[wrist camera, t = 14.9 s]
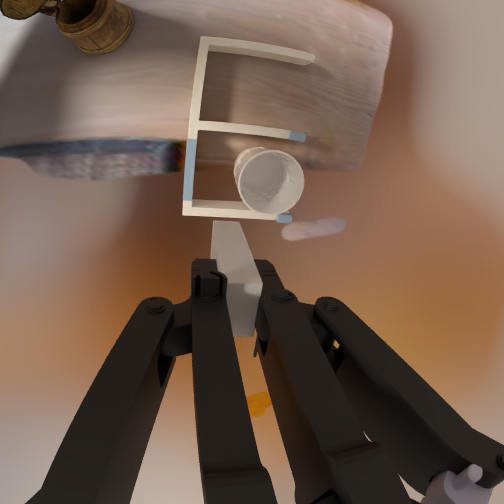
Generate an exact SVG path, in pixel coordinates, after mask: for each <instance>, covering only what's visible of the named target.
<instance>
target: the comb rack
mask: <svg viewBox="0 0 504 504" xmlns="http://www.w3.org/2000/svg"><path fill="white" fill-rule="evenodd" d="M208 51H211V52H222V53H232V54H240V55H248V56H255V57H261V58H267V59H273V60H278V61H283V62H288V63H293V64H298V65H302V66H305V65H308V64H310V63H313V62H314V59H315V54H312V53H308V52H304V51H299V50H295V49H290V48H286V47H281V46H276V45H270V44H265V43H259V42H252V41H245V40H238V39H229V38H219V37H207V36H201V39H200V45H199V51H198V57H197V64H196V71H195V78H194V86H193V94H192V102H191V111H190V120H189V130H188V139H187V148H186V161H185V175H184V191H183V215H190V216H215V217H234V218H250V219H267V220H276V221H277V222H278V223H291V222H292V217H293V215H292V214H291V213H290V212H289V211H286V212H284V213H282V214H279V215H273V216H266V215H261V214H258V213H256V212H254V211H252V210H251V209H249V208H248V207H247V206H246V205H245V203H244V202H238V201H237V202H236V201H221V200H203V199H192V193H193V179H194V167H195V155H196V144H197V134H198V130H210V131H223V132H234V133H244V134H253V135H262V136H270V137H277V138H284V139H290V140H295V141H301V142H305V140H306V133H302V132H297V131H291V130H285V129H278V128H271V127H264V126H256V125H247V124H238V123H227V122H215V121H201V120H199V115H200V106H201V98H202V90H203V82H204V75H205V68H206V61H207V55H208Z"/></svg>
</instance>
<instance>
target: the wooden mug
mask: <svg viewBox="0 0 504 504" xmlns="http://www.w3.org/2000/svg"><path fill="white" fill-rule="evenodd" d="M0 11H1V12H2V14H3V15H4V16H6V17H8V18H11V19H15V20H24V19H27V18H29V17H31V16H33V15H35V14H36V13H38V12H40V13H43V14H46V15H49V16H52V15H53V16H55V17H56V23H57V25H58V29H59V30H60V32H61V33H62V34H63V35H64V36H65V37H68V38H72V39H73V41H74V44H75V45H76V46H77V47H78V48H79V49H80V50H82V51H83V52H84V53H89V54H103V53H109V52H111V51H113V50H115V49H117V48H118V47H119V46H120V45H121V44H123V43H124V42H125V40H126V39H127V38H128V37H129V35H130V33H131V31H132V29H133V25H134V15H133V13H132V11H131V10H130V9H129V8H128V7H127V6H126V5H124V4H122V3H119V2H117V1H115V0H63V1H62V2H61V0H0Z"/></svg>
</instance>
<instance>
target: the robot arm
mask: <svg viewBox="0 0 504 504" xmlns="http://www.w3.org/2000/svg"><path fill="white" fill-rule="evenodd" d="M191 266H192V267H191V296H190V297H189V299H187V300H186V301H185V302H182V303H179V304H175V305H173V304H172V302H171V301H169V300H168V299H166V298H163V297H150V298H147V299H145V300H143V301H142V302H141V303H140V304H139V305H138V307H137V308H136V310H135V312H134V313H133V315H132V316H131V318H130V320H129V321H128V323H127V324H126V326H125V328H124V329H123V331H122V333H121V335H120V336H119V338H118V339H117V341H116V343H115V345H114V346H113V348H112V349H111V351H110V353H109V355H108V356H107V358H106V360H105V362H104V363H103V365H102V367H101V369H100V370H99V372H98V374H97V376H96V377H95V379H94V381H93V383H92V385H91V387H90V388H89V390H88V392H87V394H86V396H85V398H84V400H83V401H82V403H81V405H80V407H79V409H78V411H77V413H76V415H75V417H74V419H73V421H72V423H71V425H70V427H69V429H68V431H67V433H66V435H65V437H64V439H63V441H62V443H61V445H60V447H59V449H58V451H57V454H56V456H55V458H54V460H53V462H52V464H51V467H50V469H49V471H48V474H47V476H46V478H45V480H44V483H43V485H42V488H41V489H40V490H39V491H38V492H37V493H36V494H35V495H34V496H33V497H32V498H31V499H30V500H28V501H27V502H26V503H25V504H130V500H131V497H132V493H133V490H134V486H135V483H136V480H137V477H138V473H139V470H140V467H141V463H142V460H143V457H144V454H145V451H146V448H147V444H148V441H149V438H150V435H151V432H152V429H153V426H154V423H155V420H156V417H157V413H158V411H159V408H160V404H161V402H162V399H163V396H164V393H165V390H166V387H167V384H168V381H169V378H170V375H171V373H172V370H173V367H174V364H175V361H176V356H180V355H184V354H188V353H192V369H193V370H192V371H193V390H194V406H195V420H196V431H197V443H198V453H199V463H200V472H201V481H202V488H203V496H204V504H277V500H276V496H275V493H274V489H273V485H272V481H271V478H270V475H269V473H268V471H267V469H266V468H265V467H263V466H262V464H261V461H260V458H259V454H258V449H257V445H256V441H255V437H254V432H253V428H252V423H251V419H250V414H249V410H248V405H247V401H246V396H245V391H244V386H243V382H242V377H241V372H240V367H239V362H238V357H237V352H236V347H235V342H234V337H249V336H254V331H255V328H256V331H257V338H256V344H255V349H254V357H256V355H257V352H258V354H259V358H260V362H261V365H262V369H263V372H264V376H265V380H266V383H267V387H268V391H269V394H270V398H271V402H272V405H273V409H274V412H275V416H276V419H277V423H278V426H279V430H280V433H281V437H282V440H283V444H284V447H285V450H286V454H287V457H288V460H289V464H290V467H291V471H292V474H293V477H294V481H295V502H296V504H488V502H489V499H490V496H491V493H492V490H493V488H494V487H495V486H496V485H497V484H499V483H500V482H502V481H503V480H504V445H502V444H501V443H499V442H497V441H495V440H493V439H491V438H489V437H487V436H486V435H484V434H482V433H480V432H478V431H476V430H475V429H473V428H471V427H470V426H469V425H468V423H467V422H466V421H465V420H463V418H461V416H460V415H459V414H458V413H457V412H456V411H455V410H454V409H453V408H452V407H451V406H450V405H449V404H448V403H447V402H446V401H445V400H444V399H443V398H442V397H441V396H440V395H439V394H438V393H437V392H436V391H435V390H434V389H433V388H432V387H431V386H429V384H428V383H427V382H425V380H424V379H423V378H422V377H420V376H419V375H418V374H417V373H416V372H415V371H414V370H413V369H412V368H411V367H410V366H409V365H408V364H407V363H406V362H405V361H404V360H403V359H402V358H401V357H400V356H399V355H398V354H397V353H396V352H395V351H394V350H393V349H391V348H390V346H388V345H387V344H386V343H385V342H384V341H383V340H382V339H381V338H380V337H379V336H378V335H377V334H376V333H375V332H374V331H373V330H372V329H371V328H370V327H368V326H367V325H366V324H365V323H364V322H363V321H362V320H361V319H360V318H359V317H358V316H357V315H356V314H355V313H354V312H352V311H351V310H350V309H349V308H348V307H347V306H346V305H345V304H344V303H343V302H341V301H340V300H338V299H336V298H333V297H321V298H318V299H317V301H316V303H315V305H311V304H306V303H301V302H299V301H298V300H297V297H296V296H295V295H294V294H293V293H292V292H290V291H289V290H286V289H284V286H283V284H282V282H281V280H280V278H279V276H278V274H277V272H276V270H275V268H274V266H273V265H272V264H271V263H270V262H269V261H267V260H254V259H253V257H252V254H251V252H250V249H249V247H248V244H247V241H246V239H245V236H244V233H243V231H242V228H241V226H240V223H239V222H231V221H213V230H212V244H211V257H210V259H197V258H196V259H195V260H194V261H193V262H192V265H191ZM335 340H336V341H337V342H338V344H339V348H338V349H337V348H336V347H335V346H334V345H333V344H334V341H335ZM363 431H364V432H363ZM364 433H365V434H366V435H367V436H368V438H369V439H370V440H371V441H372V442H370V441H369V440H368V439H367V438H366V436H365V434H364ZM398 474H399V475H400V476H401V477H402V478H403V479H404V480H405V481H406V482H407V484H409V485H410V486H411V487H412V488H414V489H415V490H416V491H418V492H419V493H421V494H422V495H424V496H425V497H424V498H423V499H422V501H421V503H419V502H417V501H415V500H413V499H411V498H410V497H409V496H408V493H407V491H406V489H405V487H404V485H403V483H402V481H401V479H400V477H399V475H398Z"/></svg>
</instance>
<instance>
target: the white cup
mask: <svg viewBox="0 0 504 504" xmlns="http://www.w3.org/2000/svg"><path fill="white" fill-rule="evenodd" d="M233 173H234V177H235V181H236V185H237V188H238V190H239V193H240V196H241V198H242V200H243V202H244V203H245V205H246V206H247V207H248V208H249V209H251V210H252V211H254V212H256V213H258V214H261V215H266V216H273V215H279V214H282V213H284V212H286V211H288V210H289V209H290V208H292V207H293V206H294V205H295V204H296V203H297V202H298V200H299V199H300V197H301V195H302V192H303V189H304V174H303V170H302V168H301V166H300V164H299V163H298V162H297V160H296V159H295V158H293V157H292V156H291V155H289V154H287V153H285V152H282V151H278V150H275V149H271V148H266V147H259V146H257V147H250V148H247V149H246V150H244V151H243V152H241V153H240V154H239V155H238V157H237V159H236V160H235V162H234V172H233Z"/></svg>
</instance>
